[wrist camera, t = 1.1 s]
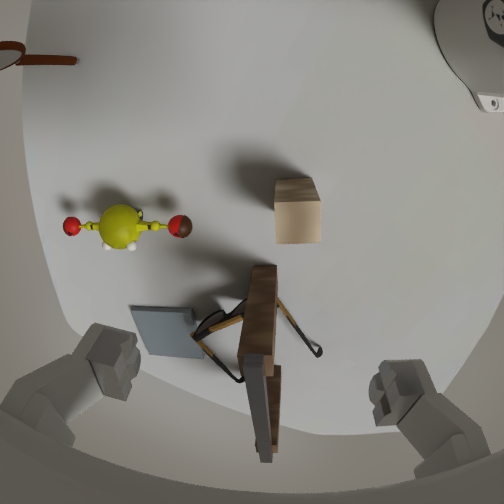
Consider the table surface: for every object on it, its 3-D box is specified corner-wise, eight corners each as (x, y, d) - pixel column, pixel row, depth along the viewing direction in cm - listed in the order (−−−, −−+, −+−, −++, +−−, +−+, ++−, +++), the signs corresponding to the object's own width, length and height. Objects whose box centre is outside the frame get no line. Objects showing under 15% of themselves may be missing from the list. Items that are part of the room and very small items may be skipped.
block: (311, 178, 32) (320, 200, 25) (312, 211, 34) (320, 242, 27) (275, 179, 32) (274, 202, 25) (277, 212, 34) (276, 244, 27)
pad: (192, 308, 42) (190, 312, 41) (204, 354, 47) (203, 358, 46) (133, 306, 43) (130, 310, 43) (151, 350, 48) (149, 354, 47)
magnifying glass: (55, 75, 27) (-68, 93, 9) (55, 63, 26) (-67, 76, 9) (105, 59, 26) (-29, 56, 9) (105, 46, 25) (-27, 36, 8)
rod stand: (276, 265, 37) (271, 355, 24) (281, 376, 48) (277, 452, 35) (252, 266, 38) (237, 355, 25) (264, 376, 48) (256, 452, 35)
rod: (263, 353, 24) (262, 367, 23) (272, 453, 35) (272, 462, 34) (244, 353, 24) (242, 367, 23) (261, 453, 35) (260, 462, 34)
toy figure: (86, 233, 38) (60, 256, 32) (78, 197, 35) (48, 216, 29) (203, 235, 36) (188, 263, 30) (200, 192, 34) (182, 213, 28)
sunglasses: (247, 374, 48) (244, 397, 44) (191, 315, 43) (182, 338, 38) (322, 348, 43) (325, 372, 39) (273, 277, 38) (272, 301, 34)
